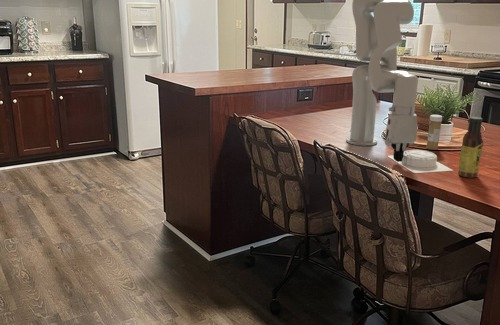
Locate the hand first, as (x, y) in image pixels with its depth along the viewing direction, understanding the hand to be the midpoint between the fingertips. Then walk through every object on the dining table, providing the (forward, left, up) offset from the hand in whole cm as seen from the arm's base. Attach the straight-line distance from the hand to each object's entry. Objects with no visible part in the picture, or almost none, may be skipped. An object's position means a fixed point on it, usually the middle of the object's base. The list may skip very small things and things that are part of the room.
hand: (397, 160), depth 175 cm
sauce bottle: (+15, +18, -2) cm, 23 cm away
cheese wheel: (0, +8, -2) cm, 8 cm away
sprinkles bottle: (-16, +23, -2) cm, 28 cm away
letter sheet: (0, +8, -2) cm, 8 cm away
